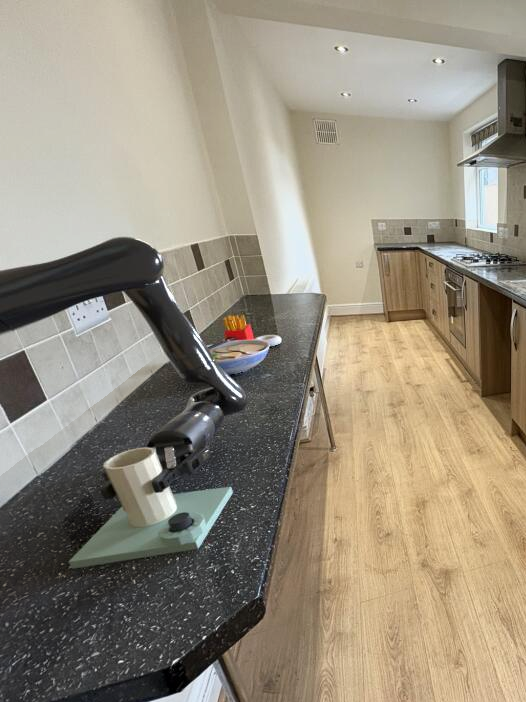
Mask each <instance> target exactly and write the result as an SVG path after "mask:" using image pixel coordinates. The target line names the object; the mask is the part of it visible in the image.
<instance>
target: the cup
mask: <svg viewBox="0 0 526 702" xmlns="http://www.w3.org/2000/svg"><path fill="white" fill-rule="evenodd" d="M102 467H103V470H104V469H105V471H106V473H107V476H108V478H109V480H110V482H111V484H112V486H113V488H114V490H115V493H116V497H117V499H118V501H119V503H120V506H121V507H123V510H124V512H125V514H126V516H127V518H128V520H129V522H130V524H131V525H132V526H134V527H146V526H150V525H154V524H156V523H159V522H161V521H163V520H165V519H167V518H168V517H170V516H171V515H172V514H173V513H174V512H175V511H176V509H177V504H176V501H175V498H174V496H173V494H174V493H173V492H172V489H171V485H170V486H169V487H167V488H166V489H164V491H163V492H160V493H155V491H154V489H153V486H152V481H153V480H154V479H155V478H156V477H157V476H158V475H159V474H160V473H161V472H162V470H163V469H162V466H161V464H160V461H159V459H158V456H157V454H156V451H155V450H154V449H153V448H147V446H146V447H136V448H132V449H129V450H125V451H122V452H120V453H117V454H115V455H113V456H112V457H110V458H108V459H107V460H106V461H104V463H103V466H102Z"/></svg>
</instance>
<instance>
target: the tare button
mask: <svg viewBox="0 0 526 702" xmlns="http://www.w3.org/2000/svg"><path fill="white" fill-rule="evenodd" d="M168 523H169V526H170V528H171V531H172V532H173V533H175V532H181V531H183V530H186V529H187V528H189V527H190V526H192V524H193V523H192V520H191V517H190V515H189V513H187V512H183V513H179V514H176V515H174V516H172V517H171V518H170V519H169V520H168Z"/></svg>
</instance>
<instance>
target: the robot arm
mask: <svg viewBox="0 0 526 702" xmlns="http://www.w3.org/2000/svg"><path fill="white" fill-rule="evenodd" d="M164 270H165V262H164V259H163V257H162V255H161V253H160V252H159V250H157V248H156V247H154V246H152V245H151V244H150V243H149V242H146V241H144V240H141V239H139V238H136V237H132V236H116V237H111V238H109V239H107V240H105V241H103V242H101V243H99V244H95V245H94V246H92V247H89V248H86V249H83V250H81V251H78V252H76V253H73V254H70V255H67V256H64V257H61V258H58V259H54V260H50V261H46V262H42V263H35V264H29V265H24V266H18V267H12V268H7V269H2V270H0V336H2V335H6V334H9V333H11V332H15V331H18V330H20V329H23V328H26V327H28V326H32V325H33V324H36V323H39V322H41V321H43V320H45V319H46V320H47V319H48V318H51V317H53V316H55V315H57V314H60V313H62V312H64V311H66V310H68V309H70V308H72V307H74V306H77V305H79V304H82V303H85V302H87V301H90V300H93V299H97V298H101V297H104V296H109V295H113V294H117V293H122V292H123V293H124V294H125V295H126V296H127V297H128V299H129V300H130V301H131V302H132V303H133V305H134V306H135V307H136V309H137V310H138V311H139V313H140V314H141V316H142V317H143V318H144V320H145V322H146V324H147V325H148V326H149V328H150V330H151V331H152V333H153V335H154V336H155V337H154V338H156V340H157V343H158V344H159V346H160V347H161V350H162V351H163V352H164V354H165V356H166V357H167V359H168V360H169V362H170V364H171V365H172V366H173V368H174V370H175V371H176V372H177V374H178V376H179V377H180V379H181V380H182V381H183V382H184V383H187V384H206V385H208V386H209V388H206V389H202V390H199V391H197V392H195V393H193V394H192V395H191V396H190V397H189V398H188V401H187V404H186V406H185V408H184V410H182V411H180V413H179V414H178V415H175V416H174V417H173V418H172V419H170V420H169V421H168V422H167V423H165V424H164V425H163V426H162V427H161V428H160V429H158V431H156V432H155V433H154V434H153V435H152V436H151V437H150V438H149V440H148V442H147V445H146V447H147V448H153V449H154V450H155V451H156V454H157V456H158V459H159V461H160V464H161V466H162V469H163V470H162V472H161V473H160V474H159V475H158V476H157V477H156V478H155V479H154V480H153V481H152V486H153V489H154V491H155V493H160V492H163V491H164V489H166V488H167V487H169V486H170V487H171V485H172V483H173V482H174V481H175V480H178V479H180V478H181V477H182V476H186V477H190V476H191V477H192V476H193V475H194V474H195V473H197V472H198V471H199V470H200V469H201V468H202V467H203V466H204V465H205V464H206V463H207V462H208V461H209V460H210V459H211V458H212V457H211V453H210V450H209V448H208V444H209V443H210V441H211V439H212V438H213V436H214V434H216V433H217V431H218V430H220V428H221V426H222V424H223V423H224V420H225V417H227V416H230V415H234V414H237V413H240V412H242V411H245V409H246V408H247V405H248V396H247V393H246V391H245V390H244V388H243V387H242V386H241V385H240V383H238V382H237V381H236V380H235V379H234V378H233V377H231V375H228V374H227V373H226V372H225V371H224V370H223V369H222V368H221V367H220V366H219V365H218V364H217V363H216V361H215V359H214V358H213V356H212V354H211V353H210V351H209V349H208V348H207V344H206V343H205V342H204V340H203V338H202V337H201V336H200V334H199V333H198V331H197V330H196V328H195V327H194V326H193V324H192V323H191V322H190V321H189V319H188V318H187V317H186V315H185V314H184V312H183V310H181V308H180V306H179V305H178V303H177V302H176V299H175V298H174V296H173V295H172V292H171V290H170V289H169V286H168V284H167V281H166V278H165V276H164ZM101 475H102V477H103V479H104V481H105V483H103V484H102V485H101V486H100V487H99V492H100V493H101V495H102V497H103V499H104V500H112V499H114V498H115V497H117V495H116V493H115V490H114V488H113V486H112V484H111V482H110V480H109V478H108V476H107V473H106V471H105V469H104V468H103V470H102V471H101Z"/></svg>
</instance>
